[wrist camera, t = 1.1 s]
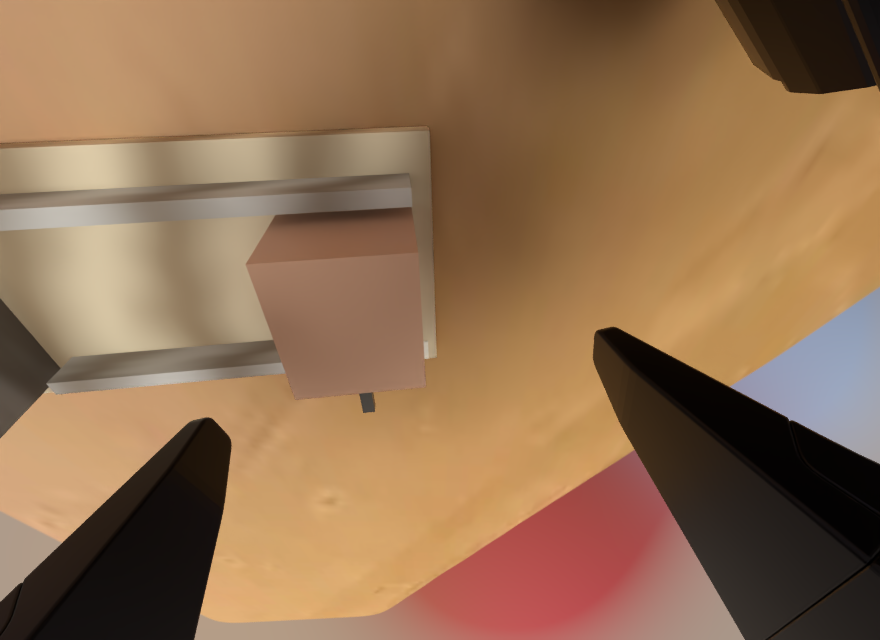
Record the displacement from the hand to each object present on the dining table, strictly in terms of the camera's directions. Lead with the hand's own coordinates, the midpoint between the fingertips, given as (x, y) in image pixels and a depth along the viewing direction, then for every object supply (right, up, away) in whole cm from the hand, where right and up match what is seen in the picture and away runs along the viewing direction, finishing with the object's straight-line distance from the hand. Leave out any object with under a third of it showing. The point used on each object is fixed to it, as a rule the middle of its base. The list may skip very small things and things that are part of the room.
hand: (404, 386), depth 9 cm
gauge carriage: (-3, +3, +11) cm, 12 cm away
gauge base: (-11, +4, +11) cm, 16 cm away
